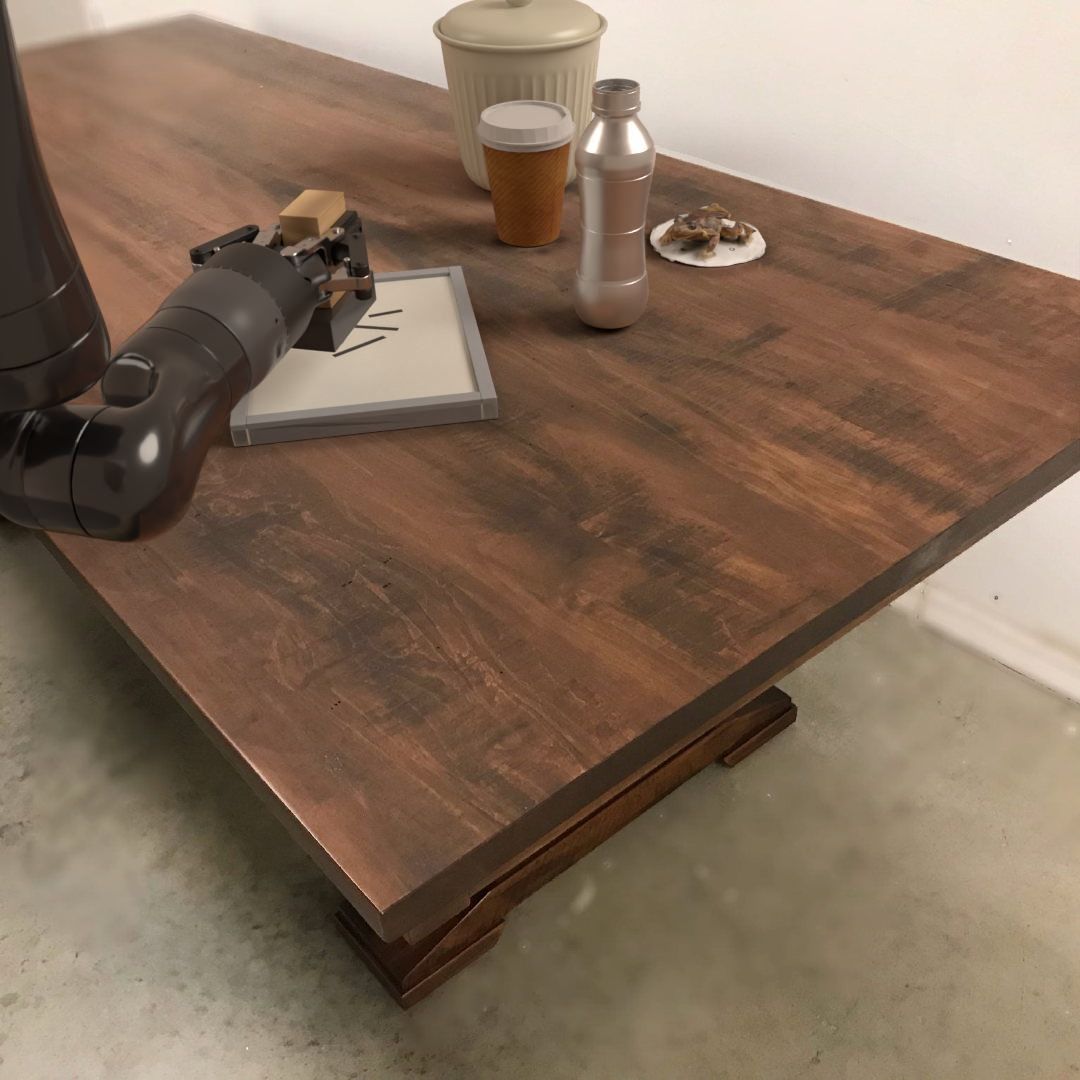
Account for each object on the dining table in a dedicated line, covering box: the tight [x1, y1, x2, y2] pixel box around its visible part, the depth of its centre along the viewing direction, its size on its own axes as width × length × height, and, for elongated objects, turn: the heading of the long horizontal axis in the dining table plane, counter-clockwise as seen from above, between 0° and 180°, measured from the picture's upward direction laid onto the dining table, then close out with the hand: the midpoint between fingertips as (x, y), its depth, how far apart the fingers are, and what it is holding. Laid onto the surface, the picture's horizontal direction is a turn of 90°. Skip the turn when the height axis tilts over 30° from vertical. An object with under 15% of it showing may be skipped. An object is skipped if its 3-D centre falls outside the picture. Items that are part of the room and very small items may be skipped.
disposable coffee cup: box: [476, 100, 576, 248], centre depth 108 cm, size 10×10×12 cm
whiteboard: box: [229, 265, 499, 447], centre depth 92 cm, size 20×24×2 cm
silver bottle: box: [571, 77, 657, 329], centre depth 91 cm, size 6×7×20 cm
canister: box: [432, 0, 609, 192], centre depth 117 cm, size 18×18×21 cm
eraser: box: [278, 189, 376, 353], centre depth 82 cm, size 4×9×10 cm, turn 167°
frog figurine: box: [649, 203, 767, 268], centre depth 108 cm, size 12×12×4 cm
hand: (330, 221), depth 83 cm, fingers closed on eraser, 3 cm apart
